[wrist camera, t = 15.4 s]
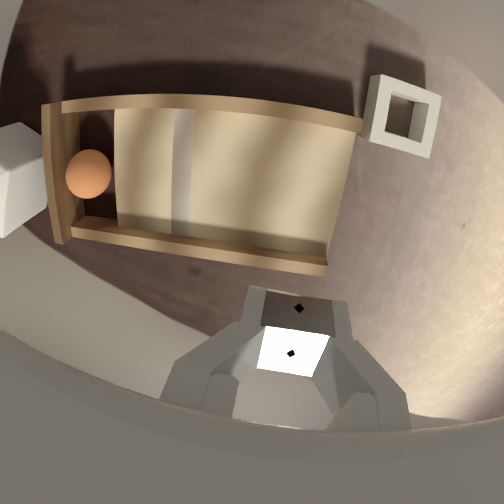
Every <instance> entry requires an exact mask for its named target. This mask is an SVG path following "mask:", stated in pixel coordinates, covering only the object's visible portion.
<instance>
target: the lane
mask: <svg viewBox="0 0 504 504" xmlns="http://www.w3.org/2000/svg"><path fill="white" fill-rule="evenodd" d="M107 109H115V119H114V165H115V190H116V205H117V218H118V220H117V219H109V218H102V217H94V216H86V215H85V208H84V199H83V198H80V197H78V196H76V195H74V194H73V193H72V192H71V191H70V189H69V188H68V186H67V183H66V178H65V174H66V168H67V166H68V163H69V162H70V160H71V159H72V158H73V157H74V156H75V155H76V154H77V153H79V152H80V112H81V111H92V110H107ZM363 120H364V119H361V118H357V117H354V116H349V115H345V114H341V113H336V112H332V111H327V110H322V109H317V108H312V107H307V106H301V105H295V104H289V103H282V102H275V101H268V100H260V99H251V98H242V97H231V96H218V95H199V94H133V95H115V96H103V97H92V98H83V99H75V100H68V101H61V102H55V103H50V104H44V105H41V125H42V150H43V164H44V174H45V183H46V191H47V199H48V205H49V212H50V218H51V223H52V229H53V234H54V239H55V243H58V244H65V243H66V242H67V241H68V240H69V239H70V238H72V237H77V238H83V239H88V240H94V241H100V242H106V243H112V244H117V245H123V246H129V247H135V248H141V249H147V250H153V251H159V252H165V253H172V254H178V255H184V256H190V257H196V258H203V259H209V260H215V261H222V262H228V263H234V264H241V265H247V266H254V267H261V268H267V269H274V270H281V271H287V272H294V273H301V274H308V275H315V276H321V277H325V276H326V273H327V269H328V262H327V258H326V257H327V253H328V250H329V246H330V243H331V239H332V235H333V231H334V227H335V224H336V220H337V216H338V212H339V208H340V204H341V199H342V195H343V191H344V187H345V182H346V178H347V174H348V169H349V164H350V160H351V155H352V150H353V145H354V140H355V135H356V133H359V134H361V131H362V126H363Z"/></svg>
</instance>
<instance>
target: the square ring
mask: <svg viewBox="0 0 504 504" xmlns="http://www.w3.org/2000/svg"><path fill="white" fill-rule="evenodd" d="M391 95H394V96H398V97H401V98H403V99H406V100H409V101H412V102H414V108H413V113H412V118H411V124H410V129H409V133H408V138H407V137H404V136H400V135H397V134H394V133H391V132H387V131H385V126H386V121H387V115H388V110H389V104H390V98H391ZM440 104H441V96H439V95H437V94H434V93H432V92H430V91H427V90H425V89H422V88H420V87H417V86H414V85H412V84H409V83H406V82H403V81H401V80H398V79H395V78H392V77H389V76H386V75H382V74H379V75H374V76H370V80H369V87H368V93H367V99H366V105H365V111H364V116H363V119H364V120H363V126H362V131H361V134H360V137H362V138H364V139H366V140H368V141H370V142H374V143H378V144H381V145H385V146H389V147H392V148H396V149H399V150H402V151H406V152H409V153H412V154H415V155H418V156H422V157H425V158H428V159H429V157H430V153H431V148H432V144H433V140H434V135H435V130H436V125H437V120H438V115H439V109H440Z"/></svg>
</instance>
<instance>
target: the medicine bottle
mask: <svg viewBox="0 0 504 504" xmlns="http://www.w3.org/2000/svg"><path fill="white" fill-rule="evenodd" d="M47 202H48V199H47V191H46V183H45V174H44V164H43V150H42V136H41V135H40V134H38V133H37V132H35V131H34V130H32V129H31V128H29V127H28V126H26V125H25V124H23V123H21V122H17V123H14V124H11V125H7V126H4V127H1V128H0V237H1V238H4V237H5V236H7V235H8V234H9V233H11V232H12V231H13V230H14V229H16V228H17V227H19V226H20V225H22V224H23V223H24V222H26V221H27V220H29V219H30V218H32V217H33V216H34V215H36V214H37V213H39V212H40V211H42V210H43V209H45V208H46V206H47Z"/></svg>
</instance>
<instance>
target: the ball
mask: <svg viewBox="0 0 504 504" xmlns="http://www.w3.org/2000/svg"><path fill="white" fill-rule="evenodd" d="M111 175H112V169H111V164H110V162H109V160H108V158H107V157H106V156H105V155H104V154H103V153H101V152H99V151H97V150H93V149H88V150H83V151H81V152H79V153H77V154H76V155H75V156H74V157H73V158H72V159H71V160H70V162H69V163H68V166H67V168H66V174H65V178H66V183H67V186H68V188H69V189H70V191H71V192H72V193H73V194H74V195H76V196H78V197H80V198H86V199H88V198H93V197H96V196H98V195H100V194H101V193H102V192H103V191H104V190H105V189H106V188H107V187H108V185H109V183H110V180H111Z"/></svg>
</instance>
